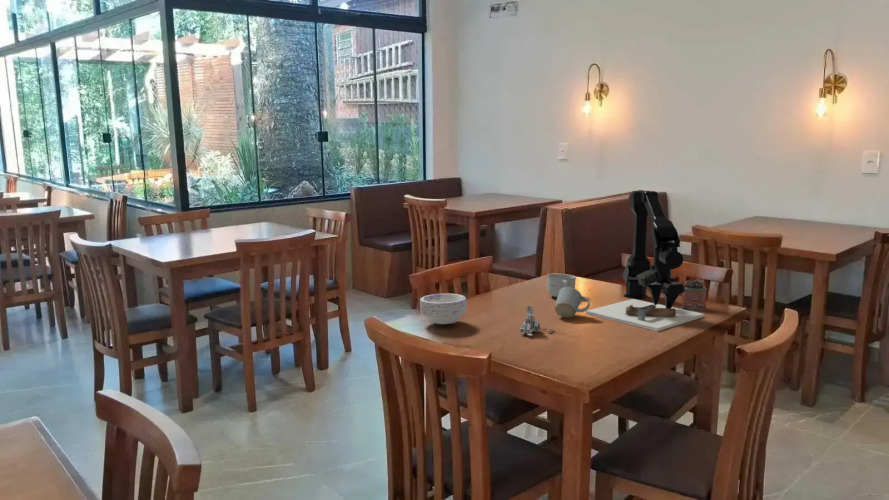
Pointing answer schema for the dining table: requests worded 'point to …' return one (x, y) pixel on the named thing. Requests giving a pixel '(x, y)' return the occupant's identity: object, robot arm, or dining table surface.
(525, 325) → the grey irregular piece
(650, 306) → the keeper
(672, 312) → the link
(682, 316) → the pivot board
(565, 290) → the ceramic mug
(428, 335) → the dining table surface
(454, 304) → the white speckled bowl
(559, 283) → the teacup
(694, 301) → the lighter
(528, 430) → the salt and pepper shakers
